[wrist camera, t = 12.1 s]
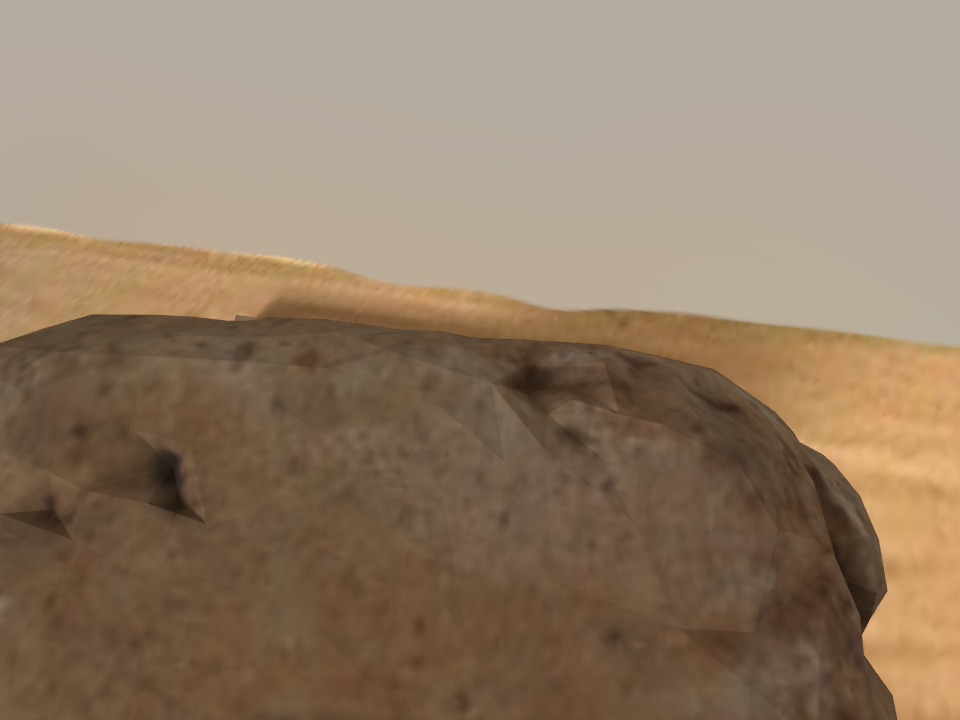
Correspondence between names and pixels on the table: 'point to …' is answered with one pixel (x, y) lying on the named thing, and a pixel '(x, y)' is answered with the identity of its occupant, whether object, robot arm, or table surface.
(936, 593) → the table surface
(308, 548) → the block
